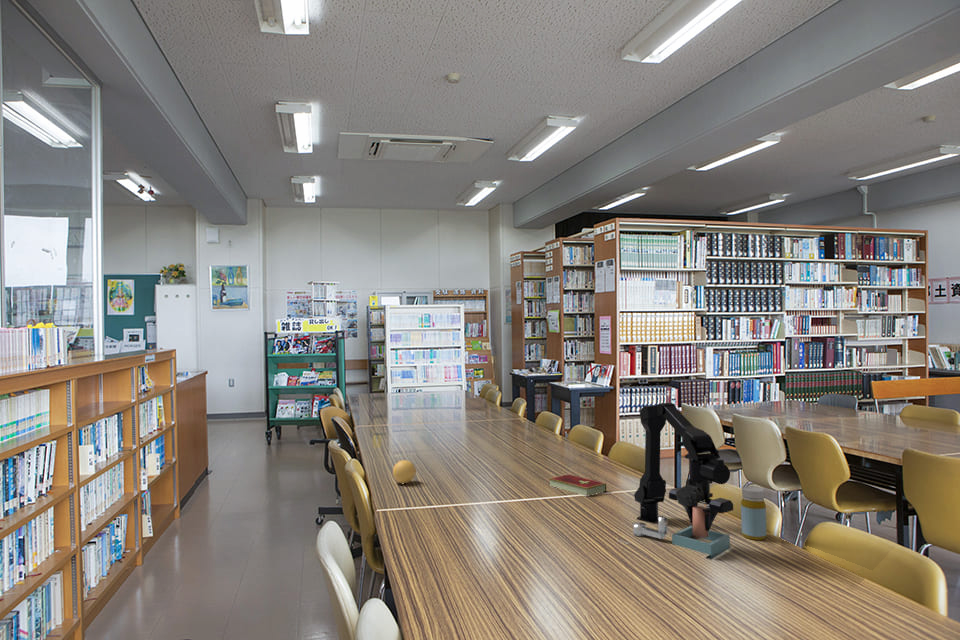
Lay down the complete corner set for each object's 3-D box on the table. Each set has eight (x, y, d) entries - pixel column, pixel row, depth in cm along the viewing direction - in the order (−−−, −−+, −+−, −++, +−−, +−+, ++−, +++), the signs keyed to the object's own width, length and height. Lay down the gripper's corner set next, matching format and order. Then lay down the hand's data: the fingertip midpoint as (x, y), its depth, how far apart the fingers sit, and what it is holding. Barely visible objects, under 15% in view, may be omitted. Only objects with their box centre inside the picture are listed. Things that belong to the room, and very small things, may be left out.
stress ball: (403, 489, 245) (420, 472, 248) (388, 472, 246) (405, 455, 248) (402, 487, 255) (419, 471, 257) (387, 470, 255) (404, 454, 258)
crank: (630, 534, 180) (630, 511, 180) (637, 530, 183) (637, 508, 183) (663, 543, 172) (663, 519, 172) (670, 539, 174) (669, 516, 175)
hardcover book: (568, 482, 251) (568, 473, 251) (606, 492, 234) (606, 482, 234) (548, 487, 243) (548, 477, 243) (587, 498, 227) (586, 487, 227)
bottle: (752, 541, 176) (751, 492, 177) (736, 534, 183) (735, 487, 183) (771, 539, 178) (770, 490, 178) (755, 532, 185) (754, 485, 185)
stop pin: (696, 531, 175) (696, 505, 175) (710, 535, 171) (710, 508, 172) (689, 534, 172) (689, 507, 172) (704, 538, 168) (704, 511, 169)
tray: (691, 538, 180) (691, 525, 180) (729, 548, 171) (729, 534, 171) (672, 548, 172) (672, 534, 172) (711, 559, 163) (710, 545, 163)
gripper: (656, 473, 176) (657, 525, 175) (709, 486, 160) (711, 543, 159) (680, 468, 182) (681, 518, 181) (733, 481, 166) (735, 535, 165)
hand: (700, 528), depth 172 cm, fingers closed on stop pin, 4 cm apart
